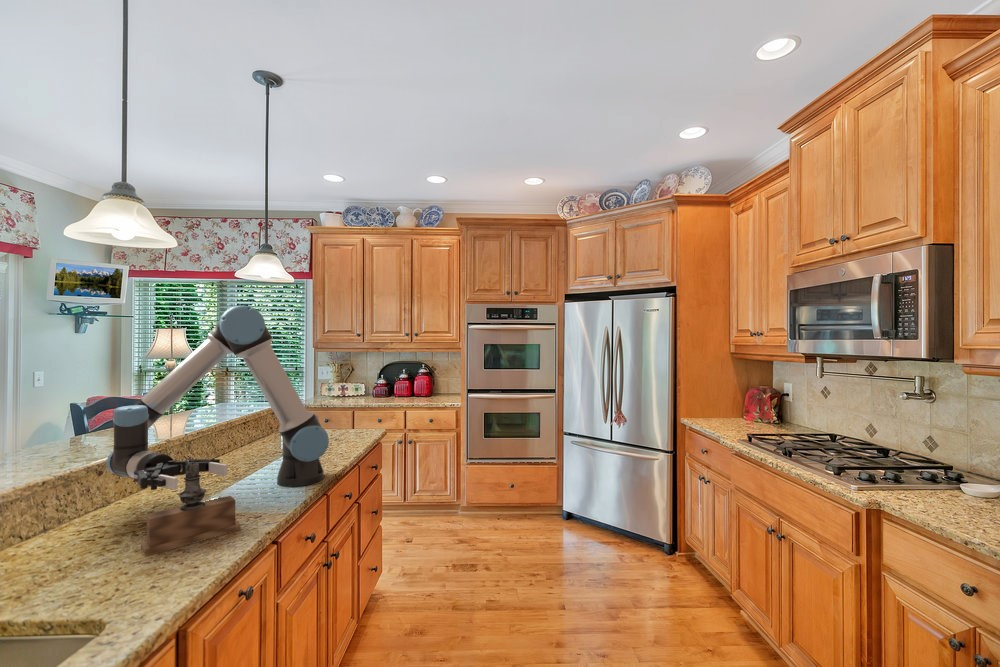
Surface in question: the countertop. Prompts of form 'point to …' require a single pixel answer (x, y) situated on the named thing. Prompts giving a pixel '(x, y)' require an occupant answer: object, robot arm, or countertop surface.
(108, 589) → the countertop surface
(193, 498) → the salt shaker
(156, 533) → the ridge
